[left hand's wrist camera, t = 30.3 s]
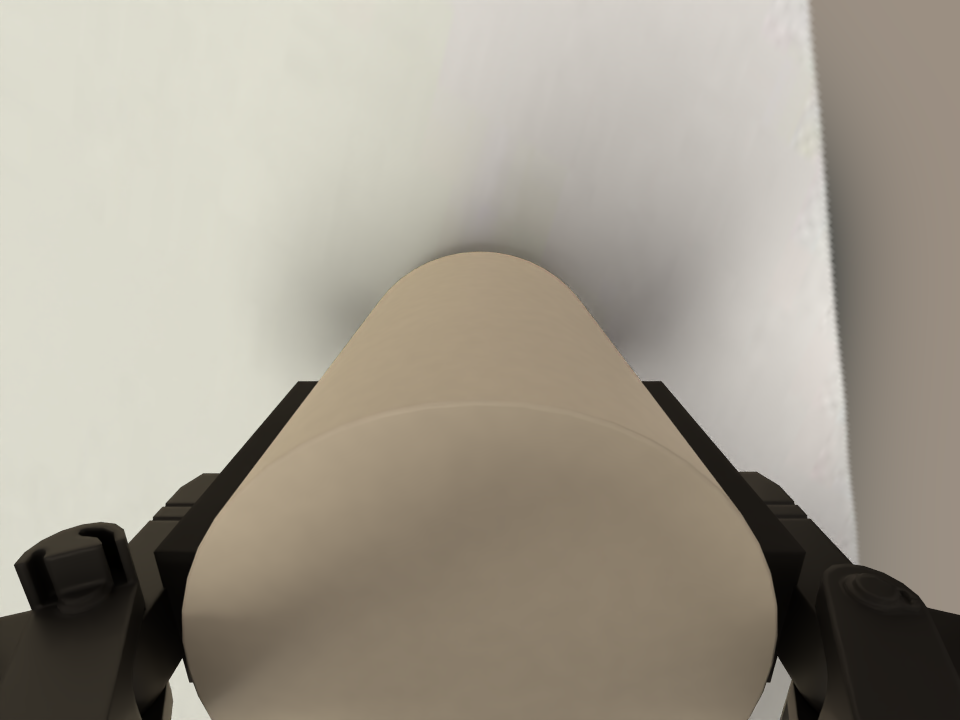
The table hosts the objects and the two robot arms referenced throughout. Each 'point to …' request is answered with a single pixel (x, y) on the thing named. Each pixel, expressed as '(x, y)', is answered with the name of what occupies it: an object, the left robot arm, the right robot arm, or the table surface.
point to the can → (479, 531)
